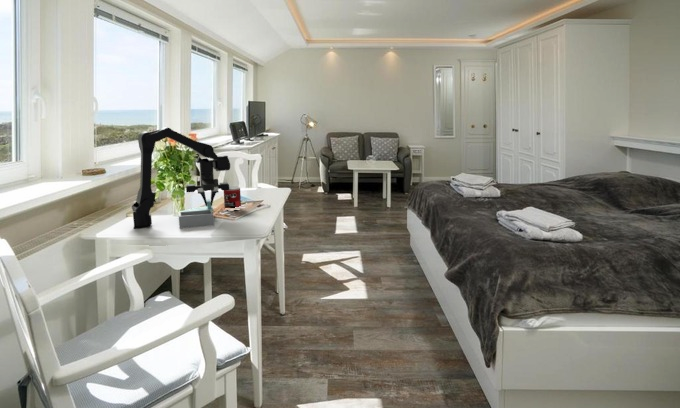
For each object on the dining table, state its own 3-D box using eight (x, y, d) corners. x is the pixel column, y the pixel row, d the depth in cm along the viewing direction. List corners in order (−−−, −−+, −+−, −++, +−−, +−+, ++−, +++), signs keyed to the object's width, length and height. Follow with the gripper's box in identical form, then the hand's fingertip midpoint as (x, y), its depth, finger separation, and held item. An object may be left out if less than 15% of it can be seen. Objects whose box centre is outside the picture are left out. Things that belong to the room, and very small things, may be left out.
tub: (179, 228, 199) (178, 216, 198) (179, 223, 208) (178, 212, 207) (214, 225, 204) (213, 214, 203) (212, 220, 212) (211, 209, 211)
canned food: (221, 210, 232) (220, 188, 230) (232, 207, 239) (231, 186, 236) (233, 212, 228) (232, 189, 226) (244, 209, 235) (243, 187, 233)
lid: (179, 219, 210) (176, 208, 208) (179, 214, 219) (176, 204, 218) (213, 212, 214) (211, 201, 213) (212, 207, 223) (210, 197, 222)
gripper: (185, 175, 204) (187, 211, 207) (229, 173, 210) (231, 208, 213) (184, 172, 214) (187, 206, 218) (227, 170, 220) (229, 203, 223)
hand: (208, 205), depth 218 cm, fingers closed on lid
